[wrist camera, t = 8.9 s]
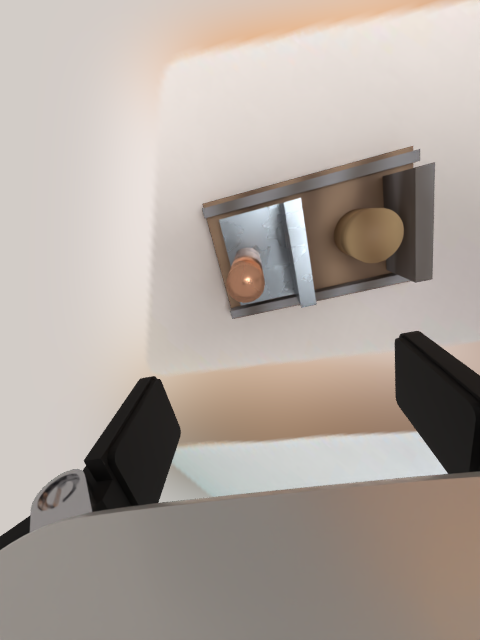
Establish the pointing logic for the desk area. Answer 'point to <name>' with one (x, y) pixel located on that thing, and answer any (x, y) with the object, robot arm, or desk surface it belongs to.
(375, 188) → the press base
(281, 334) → the desk surface
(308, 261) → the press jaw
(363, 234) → the tan round peg
